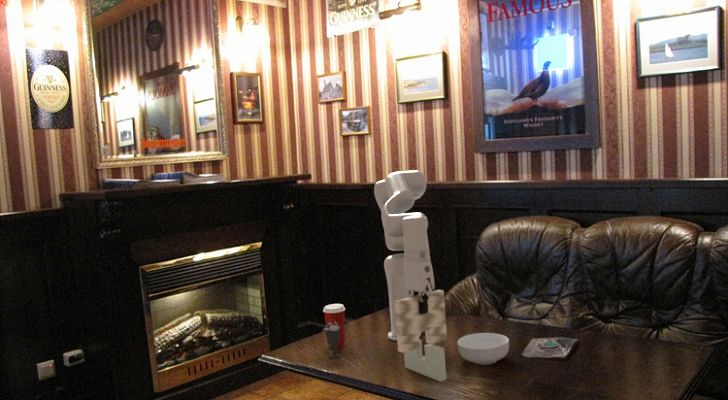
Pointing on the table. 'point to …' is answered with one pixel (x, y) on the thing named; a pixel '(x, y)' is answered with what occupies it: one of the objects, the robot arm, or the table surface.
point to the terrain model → (550, 348)
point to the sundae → (333, 337)
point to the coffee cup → (336, 319)
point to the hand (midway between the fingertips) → (420, 312)
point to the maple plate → (420, 321)
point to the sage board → (427, 361)
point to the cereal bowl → (483, 347)
